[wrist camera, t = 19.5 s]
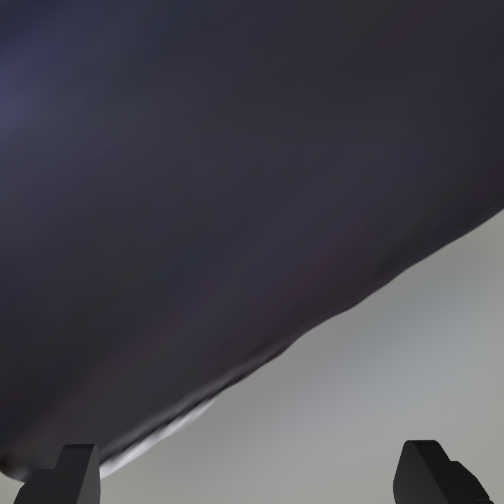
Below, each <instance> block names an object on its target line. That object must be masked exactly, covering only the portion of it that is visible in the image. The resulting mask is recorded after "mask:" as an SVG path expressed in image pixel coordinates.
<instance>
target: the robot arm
mask: <svg viewBox="0 0 504 504" xmlns="http://www.w3.org/2000/svg"><path fill="white" fill-rule="evenodd" d="M393 493H394V499H395V502H396V504H494V503H493V502H492V501H490V499H489V496H488V494H487V493H486V491H485V490H484V488H483V487H482V485H481V484H480V482H479V481H478V479H477V478H476V477H475V476H474V475H473V474H472V473H471V472H470V471H468V470H467V469H466V468H465V467H464V466H463V465H462V464H461V463H459V462H458V461H450V459H449V458H448V456H447V454H446V453H445V451H444V450H443V448H442V447H441V445H440V444H439V443H438V442H437V441H435V440H408V441H406V442H405V443H404V446H403V449H402V453H401V456H400V460H399V463H398V467H397V470H396V474H395V477H394V482H393ZM99 503H100V472H99V456H98V446H97V444H75V445H65V446H64V447H63V449H62V451H61V454H60V456H59V459H58V461H57V464H56V467H55V469H38V470H37V471H36V472H35V473H34V474H33V475H32V476H31V477H30V479H29V480H28V481H27V482H26V483H25V484H24V485H23V486H22V487H21V488H20V490H19V492H18V495H17V497H16V499H15V501H14V504H99Z"/></svg>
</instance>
